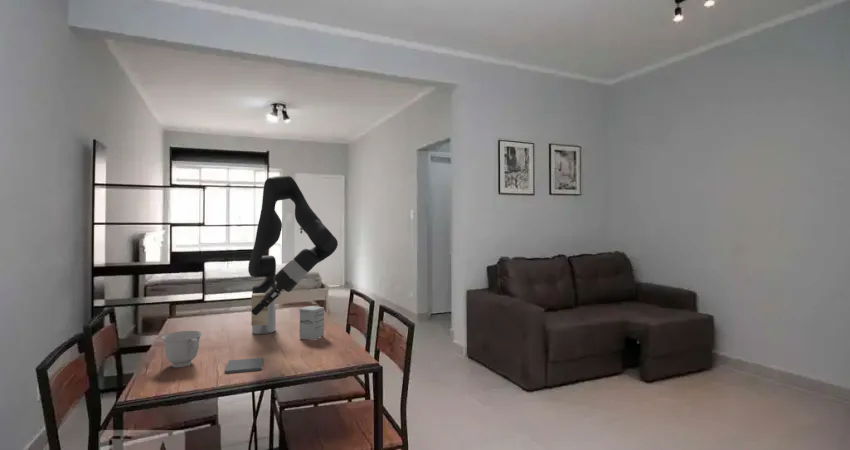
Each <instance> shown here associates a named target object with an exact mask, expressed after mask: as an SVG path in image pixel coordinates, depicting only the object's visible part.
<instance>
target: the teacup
mask: <svg viewBox="0 0 850 450" xmlns="http://www.w3.org/2000/svg"><path fill="white" fill-rule="evenodd" d="M202 335H203V333H202V332H201V331H197V330H181V331H174V332H169V333H167V334H164V335H162V336H161V340H162V341H163V343H164V350H165V356H166V357H165V358H166V359H167V360H168V362H170V363H172V365H171V366H172V367H173V368H184V367H188V366H190V365H191V364H193V363H192V361H193V360H194V359H195V358H196V357H197V355H198V351H199V346H200V338H201V336H202Z"/></svg>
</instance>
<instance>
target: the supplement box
mask: <svg viewBox="0 0 850 450" xmlns="http://www.w3.org/2000/svg"><path fill="white" fill-rule="evenodd" d="M324 331H325V307H324V306H323V307H322V306H314V305H309V306H305V307H301V308H299V336H298V337H299V338H301V339H300V340H306V339H310V340H309V341H312V340H315V339H317V338H319V337H322V336H325V334H324V333H325V332H324ZM322 338H323V337H322ZM317 340H318V339H317ZM315 341H316V340H315Z"/></svg>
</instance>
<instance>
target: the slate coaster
mask: <svg viewBox="0 0 850 450" xmlns="http://www.w3.org/2000/svg"><path fill="white" fill-rule="evenodd" d="M263 363H264V358H263V357H256V358H254V357H253V358H244V359H242V358H241V359H240V358H239V359H232V360H228V362H227V364H226V367H225V368H224V374H232V373H233V374H234V373H235V374H236V373H243V372H256V371H262V369H263V368H262V367H263Z"/></svg>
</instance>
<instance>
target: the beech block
mask: <svg viewBox="0 0 850 450" xmlns="http://www.w3.org/2000/svg"><path fill="white" fill-rule="evenodd" d="M265 294H266V293H251V311H252V310H253V309H254V308H255V307H256V306H257V305H258V304H259V302H260V301H261V300H262V299H263V298H264V295H265ZM267 296H268V295H267ZM265 302H266V303H268V301H267V300H265ZM267 324H268V307H265V308H263V309H262V310H261V311H260V312H259V313H258V314H257V315H254V314H253V313H252V312H251V327H252V326H258V325H267Z"/></svg>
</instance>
